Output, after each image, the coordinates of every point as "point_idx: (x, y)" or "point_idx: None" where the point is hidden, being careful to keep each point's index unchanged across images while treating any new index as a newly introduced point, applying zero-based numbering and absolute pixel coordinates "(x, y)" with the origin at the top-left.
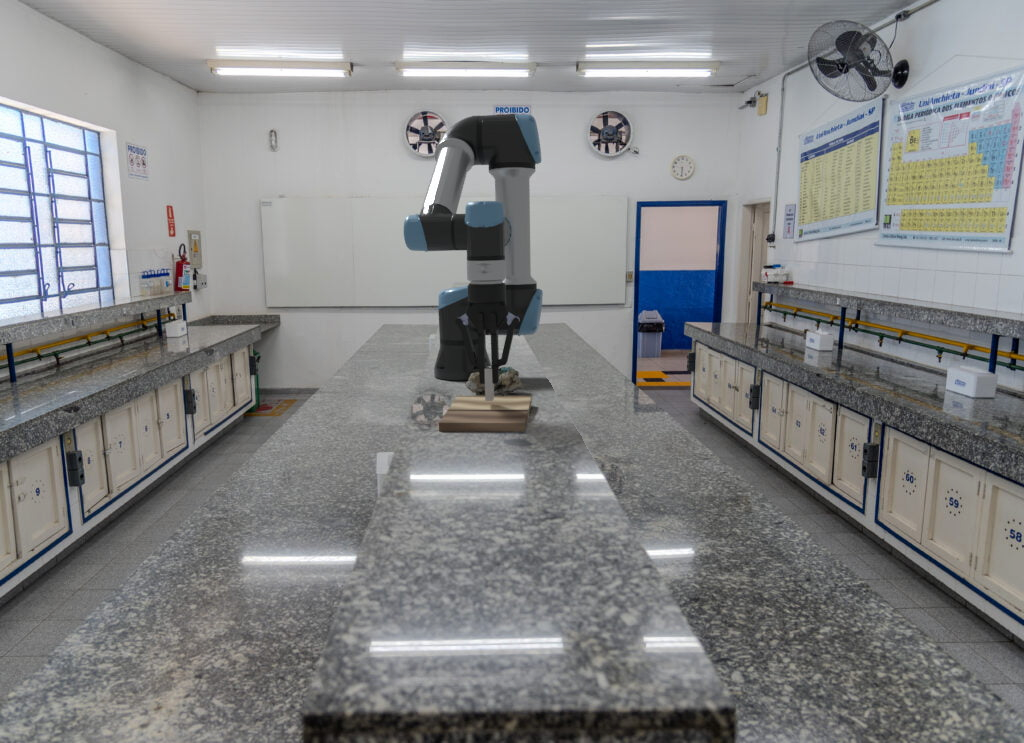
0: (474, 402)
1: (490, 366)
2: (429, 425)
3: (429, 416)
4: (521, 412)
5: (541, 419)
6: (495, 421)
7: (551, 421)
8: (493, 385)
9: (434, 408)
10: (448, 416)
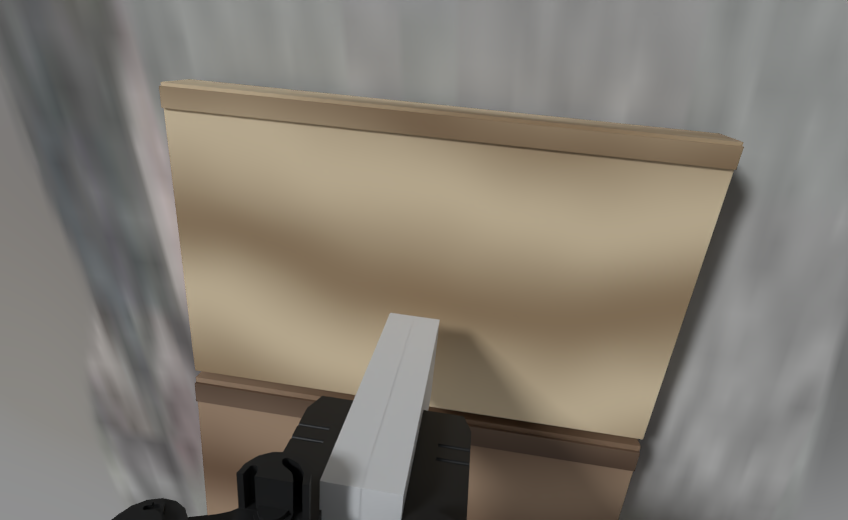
0: (314, 260)
1: (370, 491)
2: (169, 459)
3: (119, 317)
4: (592, 487)
5: (693, 449)
6: None
7: (736, 489)
8: (426, 393)
9: (86, 144)
10: (228, 493)
